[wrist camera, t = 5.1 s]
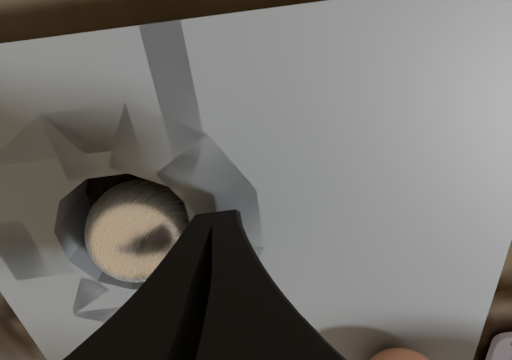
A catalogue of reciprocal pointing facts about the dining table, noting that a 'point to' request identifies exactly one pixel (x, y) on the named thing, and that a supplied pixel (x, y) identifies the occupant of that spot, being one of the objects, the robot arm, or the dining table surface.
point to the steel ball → (134, 228)
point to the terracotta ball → (399, 354)
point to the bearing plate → (276, 161)
